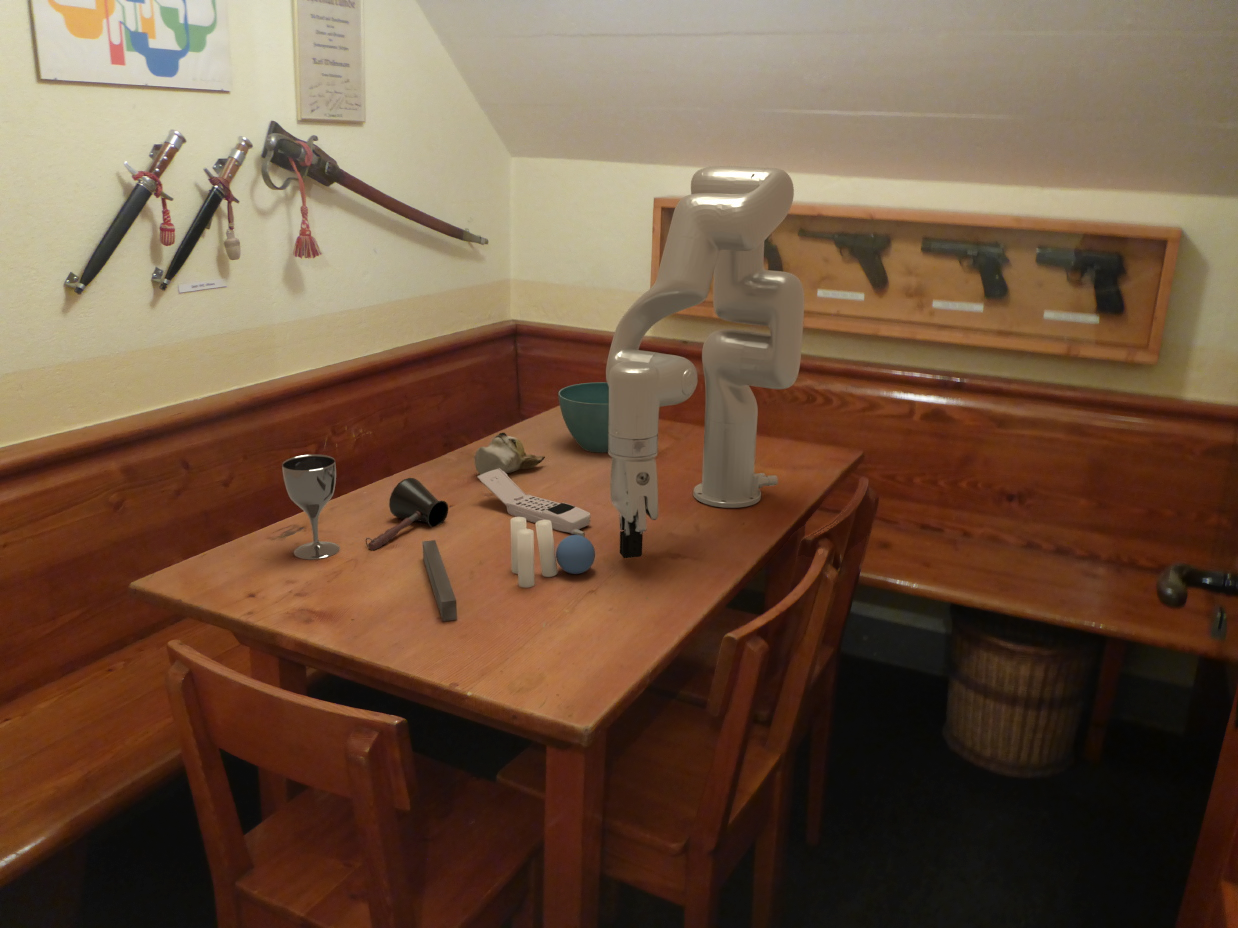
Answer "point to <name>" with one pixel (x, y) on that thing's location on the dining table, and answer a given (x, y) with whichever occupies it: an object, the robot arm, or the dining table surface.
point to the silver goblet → (311, 496)
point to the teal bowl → (587, 414)
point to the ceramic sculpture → (504, 455)
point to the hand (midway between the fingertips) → (630, 555)
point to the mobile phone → (535, 504)
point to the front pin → (546, 548)
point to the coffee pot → (411, 509)
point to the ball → (575, 554)
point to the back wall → (439, 581)
